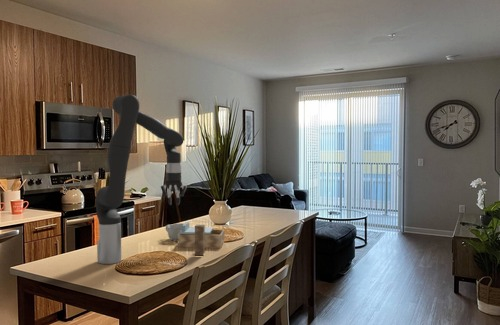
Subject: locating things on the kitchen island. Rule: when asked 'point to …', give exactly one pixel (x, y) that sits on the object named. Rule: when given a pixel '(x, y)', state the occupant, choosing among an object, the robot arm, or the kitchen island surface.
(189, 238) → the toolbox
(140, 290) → the kitchen island surface
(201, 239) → the brown rectangular block
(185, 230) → the lid
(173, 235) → the teacup
